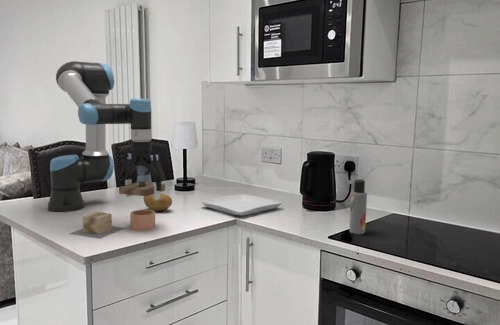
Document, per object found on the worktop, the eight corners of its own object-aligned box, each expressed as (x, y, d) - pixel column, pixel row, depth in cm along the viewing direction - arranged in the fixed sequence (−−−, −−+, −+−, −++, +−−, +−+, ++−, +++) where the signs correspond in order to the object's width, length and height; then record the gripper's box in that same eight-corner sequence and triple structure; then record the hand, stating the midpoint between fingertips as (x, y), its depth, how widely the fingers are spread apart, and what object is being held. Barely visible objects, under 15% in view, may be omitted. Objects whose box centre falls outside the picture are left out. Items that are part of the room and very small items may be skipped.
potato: (163, 215, 180) (163, 196, 179) (138, 210, 187) (138, 193, 186) (177, 210, 189) (177, 192, 188) (153, 206, 196) (153, 189, 195)
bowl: (125, 229, 159) (125, 214, 158) (140, 223, 167) (140, 208, 166) (146, 232, 156) (145, 216, 155) (159, 226, 164) (159, 211, 163)
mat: (68, 234, 152) (68, 233, 152) (96, 224, 165) (96, 223, 165) (99, 239, 147) (99, 238, 147) (125, 229, 159) (125, 228, 159)
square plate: (283, 209, 194) (283, 201, 193) (239, 220, 175) (240, 211, 174) (242, 200, 213) (242, 192, 212) (199, 208, 194) (199, 200, 193)
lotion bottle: (367, 232, 159) (370, 179, 157) (360, 235, 155) (363, 181, 153) (353, 229, 163) (356, 178, 161) (346, 232, 159) (349, 179, 156)
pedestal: (83, 232, 154) (82, 216, 153) (96, 227, 160) (96, 211, 159) (98, 234, 151) (98, 218, 150) (111, 229, 157) (111, 213, 157)
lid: (119, 193, 156) (118, 183, 156) (139, 188, 167) (138, 178, 167) (146, 196, 152) (146, 185, 151) (165, 190, 163) (164, 180, 162)
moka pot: (146, 185, 246) (146, 151, 243) (159, 189, 234) (158, 153, 231) (131, 187, 240) (130, 152, 237) (143, 191, 228) (142, 154, 225)
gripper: (108, 140, 158) (110, 197, 161) (163, 142, 149) (164, 202, 152) (121, 138, 165) (122, 193, 168) (175, 141, 156) (175, 198, 159)
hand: (142, 198), depth 160 cm, fingers closed on lid, 12 cm apart
